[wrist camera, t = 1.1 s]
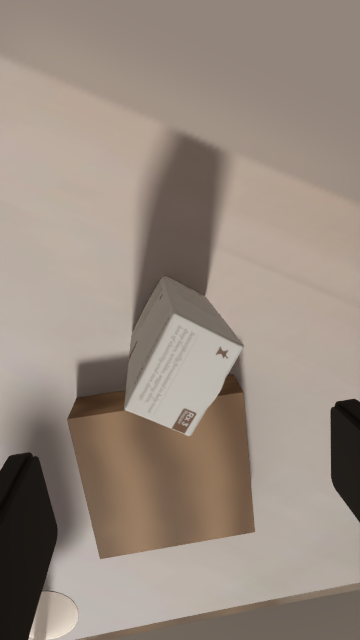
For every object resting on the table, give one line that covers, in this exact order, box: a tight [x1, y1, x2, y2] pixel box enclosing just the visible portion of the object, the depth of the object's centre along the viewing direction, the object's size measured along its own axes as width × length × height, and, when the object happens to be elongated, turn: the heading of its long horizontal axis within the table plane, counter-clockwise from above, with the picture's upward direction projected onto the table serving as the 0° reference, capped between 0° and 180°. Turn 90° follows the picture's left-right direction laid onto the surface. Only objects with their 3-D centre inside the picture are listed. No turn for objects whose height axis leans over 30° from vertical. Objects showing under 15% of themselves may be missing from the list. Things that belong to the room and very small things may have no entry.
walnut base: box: [67, 374, 255, 559], centre depth 31 cm, size 14×14×4 cm
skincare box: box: [124, 276, 244, 436], centre depth 23 cm, size 6×4×12 cm
